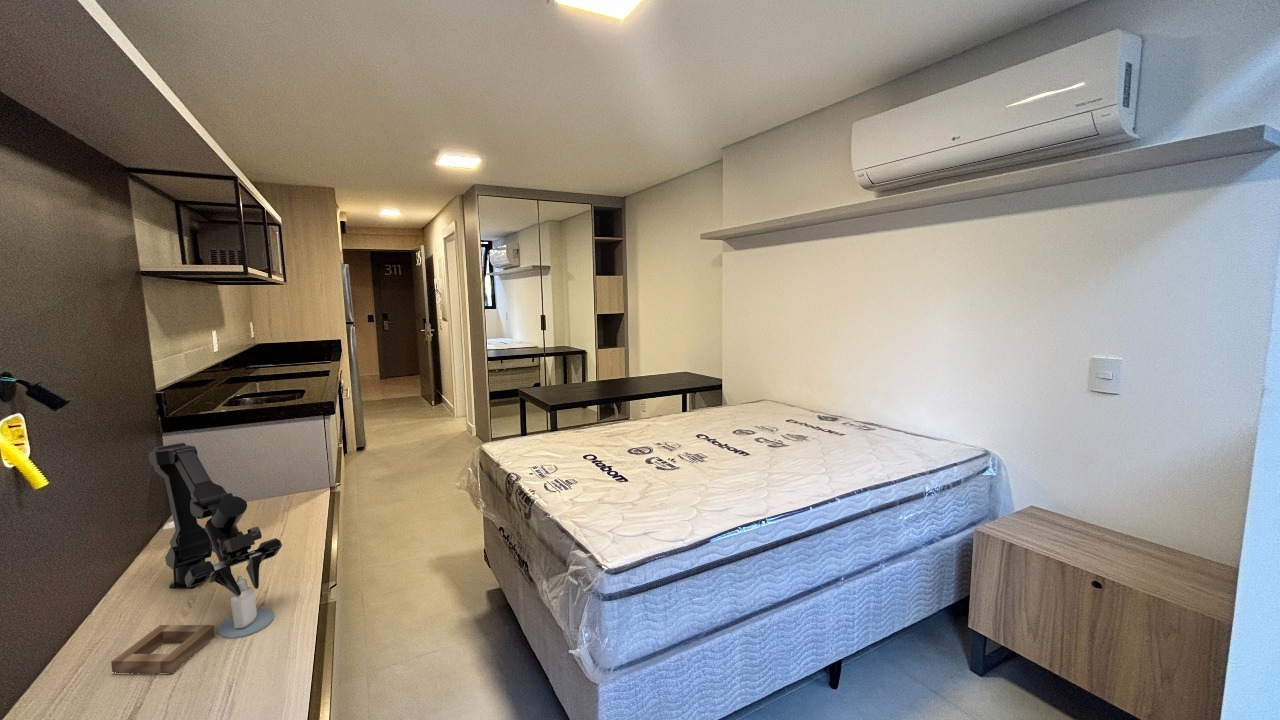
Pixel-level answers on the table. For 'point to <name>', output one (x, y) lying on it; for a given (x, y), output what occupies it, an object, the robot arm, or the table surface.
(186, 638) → the walnut socket block
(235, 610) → the eye dropper bottle
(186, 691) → the table surface
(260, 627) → the slate-blue rubber mat
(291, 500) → the table surface
